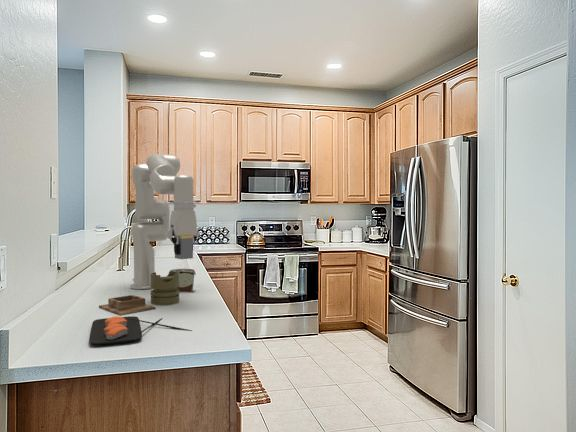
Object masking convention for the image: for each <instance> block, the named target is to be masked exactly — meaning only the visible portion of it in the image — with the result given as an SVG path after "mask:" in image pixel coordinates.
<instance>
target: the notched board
mask: <svg viewBox="0 0 576 432" xmlns="http://www.w3.org/2000/svg"><path fill="white" fill-rule="evenodd" d="M107 299H108V300H107V301H108V303H107V304H101V305H100V304H99V305H98V308H99V309H101V310H104V311H106V312H110V313H113V314H115V315H118V316H123V315H124V316H125V315H129V314H137V313H141V312H147V311H152V310H156V306H155V305H152V304H147V303H146V298H145V297H142V296H139V295H135V294H129V295H123V296H115V297H110V298H107Z"/></svg>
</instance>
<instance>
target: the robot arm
mask: <svg viewBox="0 0 576 432" xmlns="http://www.w3.org/2000/svg"><path fill="white" fill-rule="evenodd" d="M180 169H181V160H180V158H179V157H178V156H177V155H175V154H166V153H153V154H151V155H149V156H148V157H147V158H146V163H138V164H135V165H134V166H133V167H132V172H131V178H132V182H133V185H134V189H135V190H134V191H135V195H134V196H135V204H134V205H135V206H134V207H135V209H134V210H135V211H134V212H135V213H134V214H135V216H136V217H137V218H138V219H141V220H158V221H137V222H136V223H134V224H132V226H131V237H132V238H131V239H132V243H133V278H132V281H133V284H130V289H132V290H152V288H151V273H153V272H156V270H155V262H156V261H155V250H154V248H153V246H152V245H151V243H150V242H160V241H161V242H162V241H166V240H167V239H169V240H170V241H171V242H172V245H173V251H174V252H173V253H174V255H175V254H177V255H180V244H179V241H180V236H187V235H193V244H195V243H196V240H197V239H198V238H199V237H200V236H201V233H200V231H199V230H198V225H197V224H198V223H197V215H196V211H195V209H196V207H197V206H196V204H194V178H193V176H191V175H177V174H179V171H180ZM155 193H157V194H158V195H173V210H170V205H169V202H168V201H167V200H165V199H161V198H158V199H155ZM194 208H195V209H194ZM170 211H171V213H170Z"/></svg>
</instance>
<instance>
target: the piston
mask: <svg viewBox="0 0 576 432" xmlns="http://www.w3.org/2000/svg"><path fill="white" fill-rule="evenodd" d="M178 287H179V272H176V271H170V270H169V272H168V274H167V275H166V276H161V275H160V274H157V273H156V271H155V272H153V273H151V289H150V305H152V306H172V305H176V304H179V303H180V292H179V289H177V288H178Z"/></svg>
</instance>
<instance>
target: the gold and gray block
mask: <svg viewBox="0 0 576 432" xmlns="http://www.w3.org/2000/svg"><path fill="white" fill-rule="evenodd" d="M179 244H180V255H177V254H175V253H174V259H178V260H187V259H189V260H190V259H193V258H194V252H193V251H194V243H193V235H187V236H180V241H179Z"/></svg>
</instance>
